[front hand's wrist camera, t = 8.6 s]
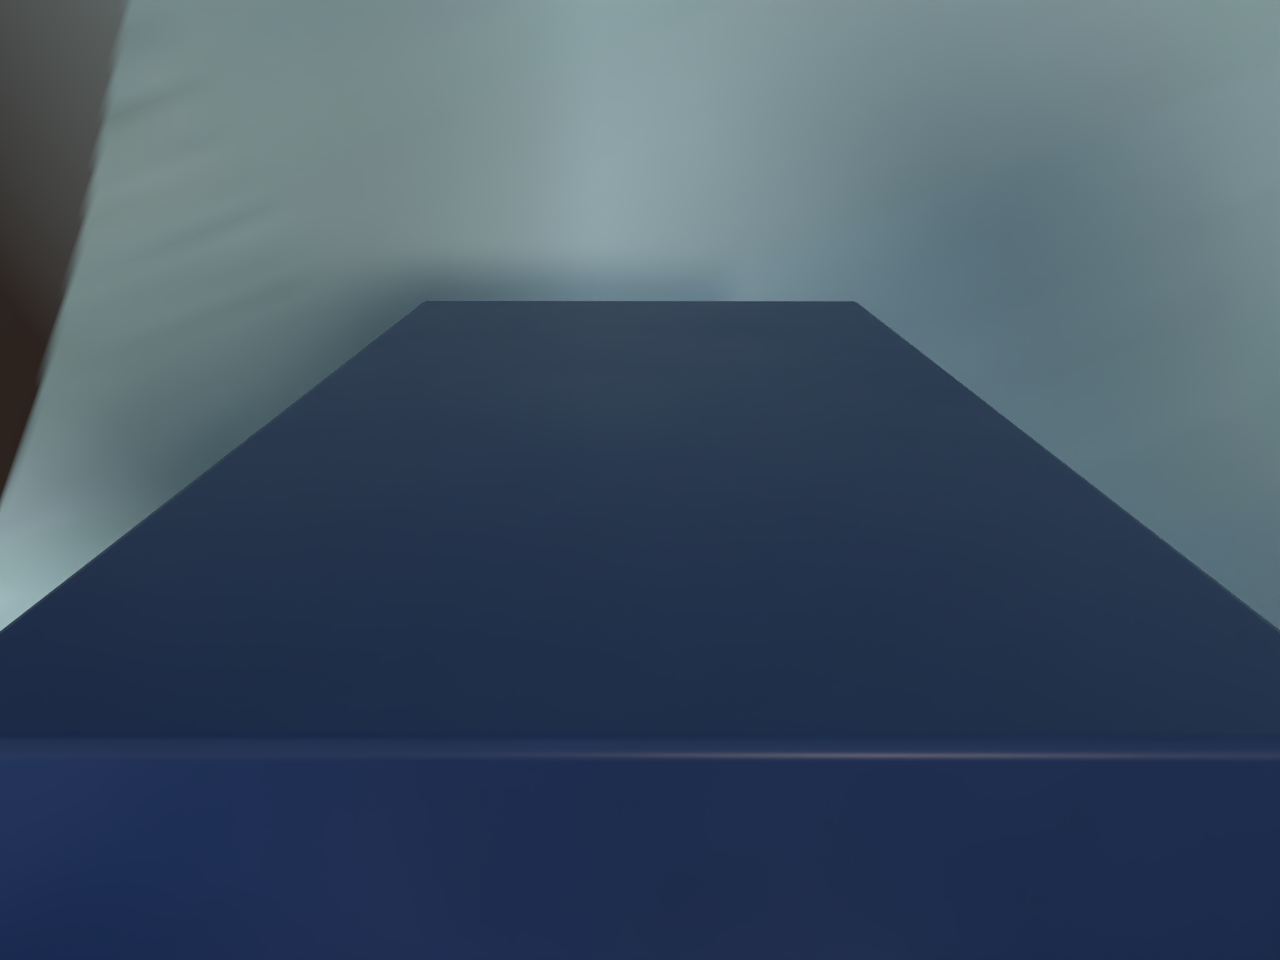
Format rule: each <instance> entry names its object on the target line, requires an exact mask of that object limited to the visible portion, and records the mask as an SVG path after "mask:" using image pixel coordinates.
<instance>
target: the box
mask: <svg viewBox="0 0 1280 960" xmlns="http://www.w3.org/2000/svg"><path fill="white" fill-rule="evenodd" d="M0 960H1280V630H1278V629H1277V628H1276V627H1275V626H1273V625H1272V624H1271V623H1269V622H1268V621H1267V620H1266V619H1264V618H1263V617H1262V616H1260V615H1259V614H1258V613H1256V612H1255V611H1254V610H1253V609H1251V608H1250V607H1249V606H1247V605H1246V604H1245V603H1244V602H1242V601H1241V600H1240V599H1238V598H1237V597H1236V596H1235V595H1233V594H1232V593H1231V592H1229V591H1228V590H1227V589H1226V588H1224V587H1223V586H1222V585H1220V584H1219V583H1218V582H1216V581H1215V580H1214V579H1213V578H1211V577H1210V576H1209V575H1207V574H1206V573H1205V572H1204V571H1202V570H1201V569H1200V568H1198V567H1197V566H1196V565H1195V564H1193V563H1192V562H1191V561H1189V560H1188V559H1187V558H1186V557H1184V556H1183V555H1182V554H1180V553H1179V552H1178V551H1177V550H1175V549H1174V548H1173V547H1171V546H1170V545H1169V544H1167V543H1166V542H1165V541H1164V540H1162V539H1161V538H1160V537H1158V536H1157V535H1156V534H1155V533H1153V532H1152V531H1151V530H1149V529H1148V528H1147V527H1146V526H1144V525H1143V524H1142V523H1140V522H1139V521H1138V520H1137V519H1135V518H1134V517H1133V516H1131V515H1130V514H1129V513H1128V512H1126V511H1125V510H1124V509H1122V508H1121V507H1120V506H1118V505H1117V504H1116V503H1115V502H1113V501H1112V500H1111V499H1109V498H1108V497H1107V496H1106V495H1104V494H1103V493H1102V492H1100V491H1099V490H1098V489H1097V488H1095V487H1094V486H1093V485H1091V484H1090V483H1089V482H1088V481H1086V480H1085V479H1084V478H1082V477H1081V476H1080V475H1079V474H1077V473H1076V472H1075V471H1073V470H1072V469H1071V468H1069V467H1068V466H1067V465H1066V464H1064V463H1063V462H1062V461H1060V460H1059V459H1058V458H1057V457H1055V456H1054V455H1053V454H1051V453H1050V452H1049V451H1048V450H1046V449H1045V448H1044V447H1042V446H1041V445H1040V444H1039V443H1037V442H1036V441H1035V440H1033V439H1032V438H1031V437H1030V436H1028V435H1027V434H1026V433H1024V432H1023V431H1022V430H1020V429H1019V428H1018V427H1017V426H1015V425H1014V424H1013V423H1011V422H1010V421H1009V420H1008V419H1006V418H1005V417H1004V416H1002V415H1001V414H1000V413H999V412H997V411H996V410H995V409H993V408H992V407H991V406H990V405H988V404H987V403H986V402H984V401H983V400H982V399H980V398H979V397H978V396H977V395H975V394H974V393H973V392H971V391H970V390H969V389H968V388H966V387H965V386H964V385H962V384H961V383H960V382H959V381H957V380H956V379H955V378H953V377H952V376H951V375H950V374H948V373H947V372H946V371H944V370H943V369H942V368H941V367H939V366H938V365H937V364H935V363H934V362H933V361H931V360H930V359H929V358H928V357H926V356H925V355H924V354H922V353H921V352H920V351H919V350H917V349H916V348H915V347H913V346H912V345H911V344H910V343H908V342H907V341H906V340H904V339H903V338H902V337H901V336H899V335H898V334H897V333H895V332H894V331H893V330H892V329H890V328H889V327H888V326H886V325H885V324H884V323H882V322H881V321H880V320H879V319H877V318H876V317H875V316H873V315H872V314H871V313H870V312H868V311H867V310H866V309H864V308H863V307H862V306H861V305H859V304H858V303H856V302H794V301H426V302H424V303H422V304H421V305H420V306H418V307H417V308H416V309H414V310H413V311H412V312H411V313H409V314H408V315H407V316H405V317H404V318H403V319H402V320H400V321H399V322H398V323H396V324H395V325H394V326H393V327H391V328H390V329H389V330H387V331H386V332H385V333H384V334H382V335H381V336H380V337H378V338H377V339H376V340H375V341H373V342H372V343H371V344H369V345H368V346H367V347H366V348H364V349H363V350H362V351H360V352H359V353H358V354H357V355H355V356H354V357H353V358H351V359H350V360H349V361H348V362H346V363H345V364H344V365H342V366H341V367H340V368H339V369H337V370H336V371H335V372H333V373H332V374H331V375H330V376H328V377H327V378H326V379H324V380H323V381H322V382H321V383H319V384H318V385H317V386H315V387H314V388H313V389H311V390H310V391H309V392H308V393H306V394H305V395H304V396H302V397H301V398H300V399H299V400H297V401H296V402H295V403H293V404H292V405H291V406H290V407H288V408H287V409H286V410H284V411H283V412H282V413H281V414H279V415H278V416H277V417H275V418H274V419H273V420H272V421H270V422H269V423H268V424H266V425H265V426H264V427H263V428H261V429H260V430H259V431H257V432H256V433H255V434H254V435H252V436H251V437H250V438H248V439H247V440H246V441H245V442H243V443H242V444H241V445H239V446H238V447H237V448H236V449H234V450H233V451H232V452H230V453H229V454H228V455H227V456H225V457H224V458H223V459H221V460H220V461H219V462H218V463H216V464H215V465H214V466H212V467H211V468H210V469H209V470H207V471H206V472H205V473H203V474H202V475H201V476H200V477H198V478H197V479H196V480H194V481H193V482H192V483H191V484H189V485H188V486H187V487H185V488H184V489H183V490H182V491H180V492H179V493H178V494H176V495H175V496H174V497H173V498H171V499H170V500H169V501H167V502H166V503H165V504H164V505H162V506H161V507H160V508H158V509H157V510H156V511H155V512H153V513H152V514H151V515H149V516H148V517H147V518H145V519H144V520H143V521H142V522H140V523H139V524H138V525H136V526H135V527H134V528H133V529H131V530H130V531H129V532H127V533H126V534H125V535H124V536H122V537H121V538H120V539H118V540H117V541H116V542H115V543H113V544H112V545H111V546H109V547H108V548H107V549H106V550H104V551H103V552H102V553H100V554H99V555H98V556H97V557H95V558H94V559H93V560H91V561H90V562H89V563H88V564H86V565H85V566H84V567H82V568H81V569H80V570H79V571H77V572H76V573H75V574H73V575H72V576H71V577H70V578H68V579H67V580H66V581H64V582H63V583H62V584H61V585H59V586H58V587H57V588H55V589H54V590H53V591H52V592H50V593H49V594H48V595H46V596H45V597H44V598H43V599H41V600H40V601H39V602H37V603H36V604H35V605H34V606H32V607H31V608H30V609H28V610H27V611H26V612H25V613H23V614H22V615H21V616H19V617H18V618H17V619H16V620H14V621H13V622H12V623H10V624H9V625H8V626H7V627H5V628H4V629H3V630H1V631H0Z"/></svg>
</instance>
